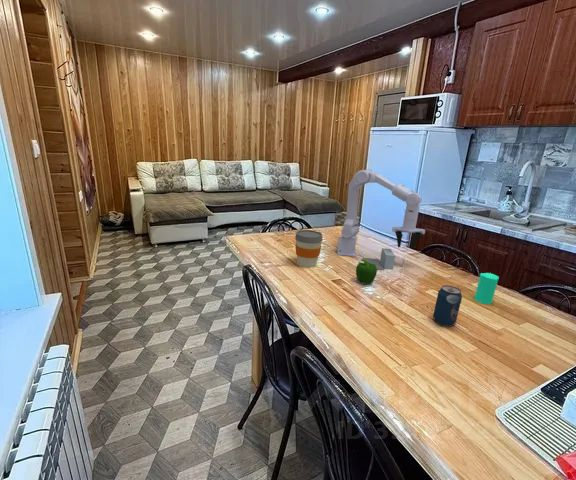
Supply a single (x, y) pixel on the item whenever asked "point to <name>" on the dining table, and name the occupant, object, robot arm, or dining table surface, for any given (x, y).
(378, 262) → the flat gray panel
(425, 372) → the dining table surface
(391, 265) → the slab
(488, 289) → the candle
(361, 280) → the bell pepper
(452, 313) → the soda can
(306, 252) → the reusable coffee cup
